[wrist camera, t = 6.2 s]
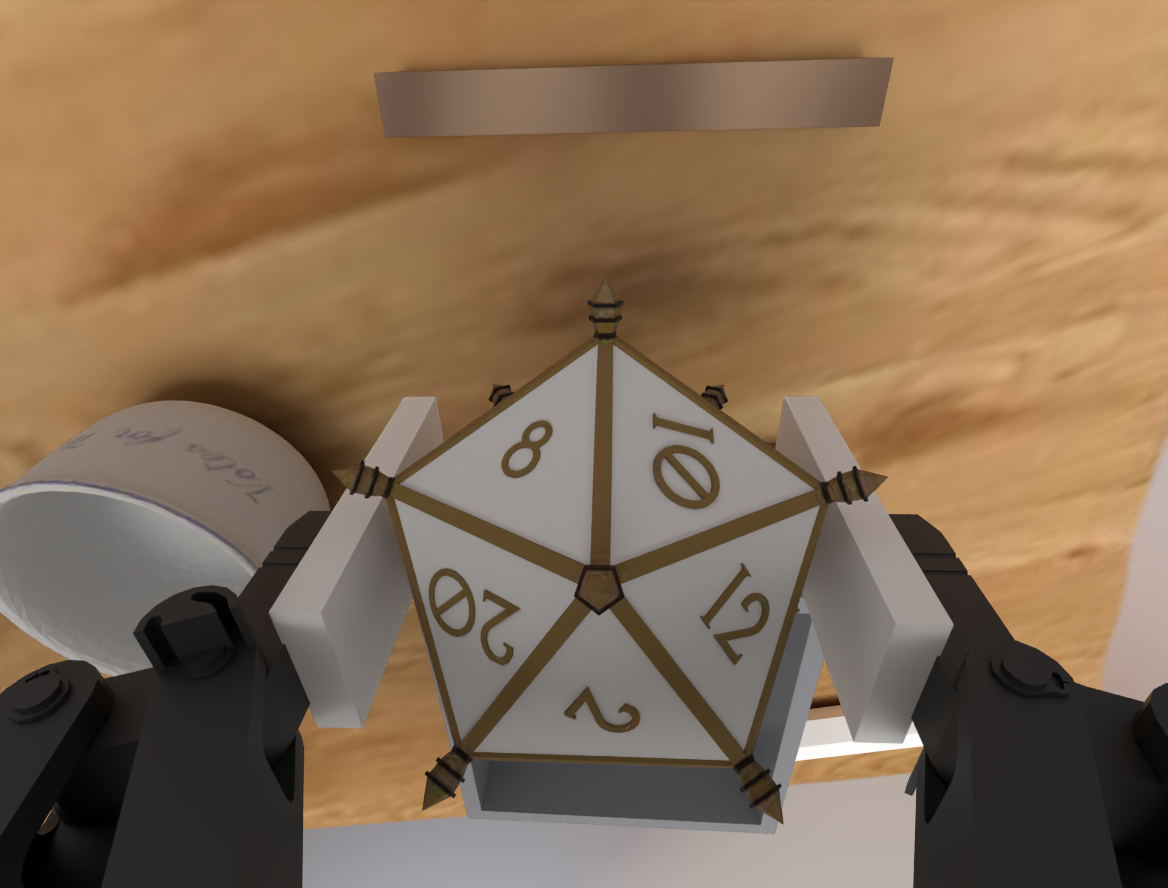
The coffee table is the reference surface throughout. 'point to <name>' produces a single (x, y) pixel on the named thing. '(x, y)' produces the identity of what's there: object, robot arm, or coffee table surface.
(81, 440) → the teacup
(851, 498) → the game die
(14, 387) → the coffee table surface
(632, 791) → the bin
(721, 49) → the coffee table surface
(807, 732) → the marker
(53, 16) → the coffee table surface
